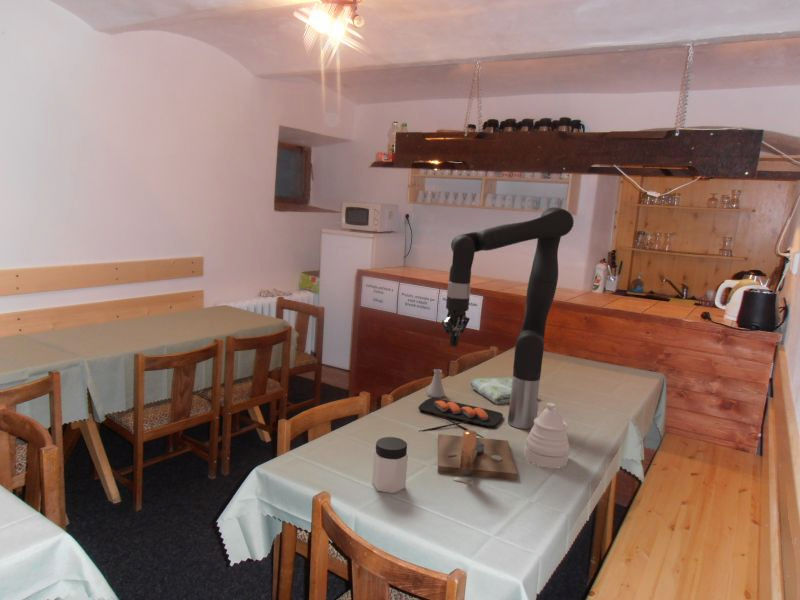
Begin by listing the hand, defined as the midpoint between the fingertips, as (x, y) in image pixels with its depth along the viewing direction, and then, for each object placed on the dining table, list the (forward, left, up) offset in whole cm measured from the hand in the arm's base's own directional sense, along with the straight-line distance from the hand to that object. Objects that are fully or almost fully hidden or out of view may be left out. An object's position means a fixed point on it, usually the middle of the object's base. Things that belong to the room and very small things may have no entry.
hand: (453, 346), depth 194 cm
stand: (-8, +30, -27) cm, 41 cm away
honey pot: (-30, +22, -27) cm, 46 cm away
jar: (+16, +48, -27) cm, 57 cm away
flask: (+4, -26, -27) cm, 38 cm away
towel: (-23, -34, -28) cm, 49 cm away
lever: (-6, +34, -25) cm, 42 cm away
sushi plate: (-2, -1, -28) cm, 28 cm away
